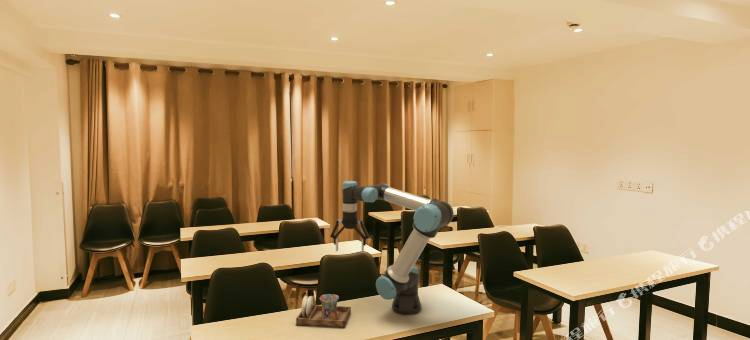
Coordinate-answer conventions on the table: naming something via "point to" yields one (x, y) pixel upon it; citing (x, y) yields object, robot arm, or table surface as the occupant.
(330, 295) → the mug
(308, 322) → the rack
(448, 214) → the robot arm
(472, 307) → the table surface
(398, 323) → the table surface
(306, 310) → the plates
